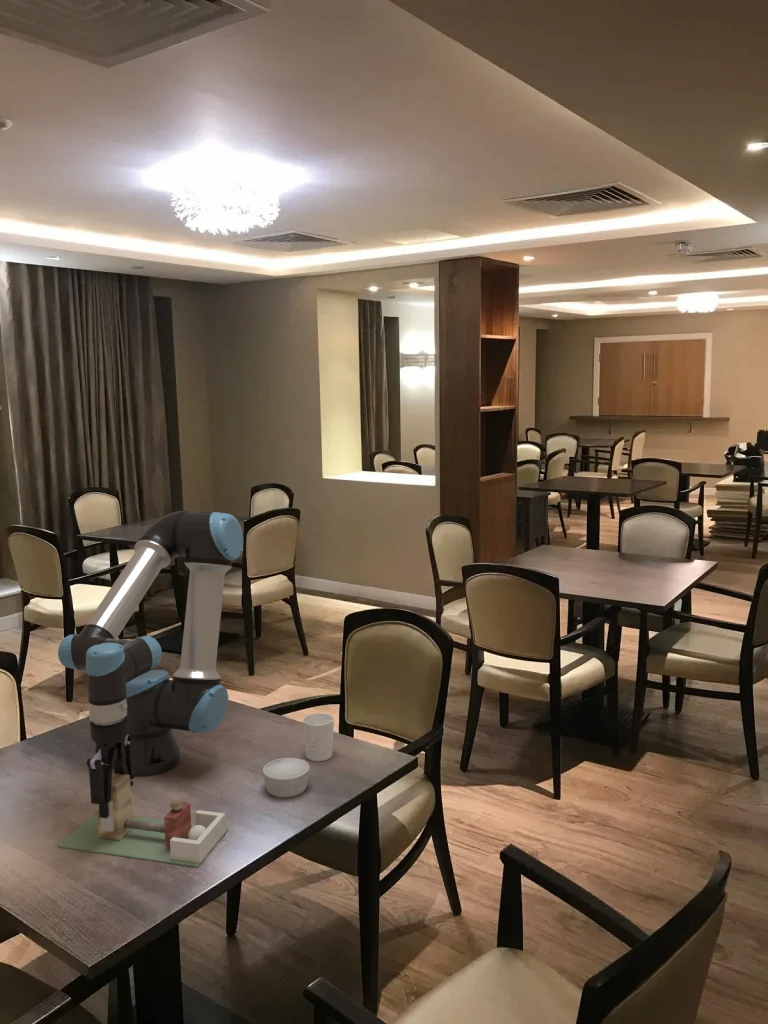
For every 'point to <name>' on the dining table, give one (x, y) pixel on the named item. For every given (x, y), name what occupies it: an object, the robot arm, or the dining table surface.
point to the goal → (200, 838)
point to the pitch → (125, 842)
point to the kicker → (174, 821)
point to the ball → (196, 832)
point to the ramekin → (286, 777)
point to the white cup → (318, 736)
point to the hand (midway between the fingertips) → (115, 822)
